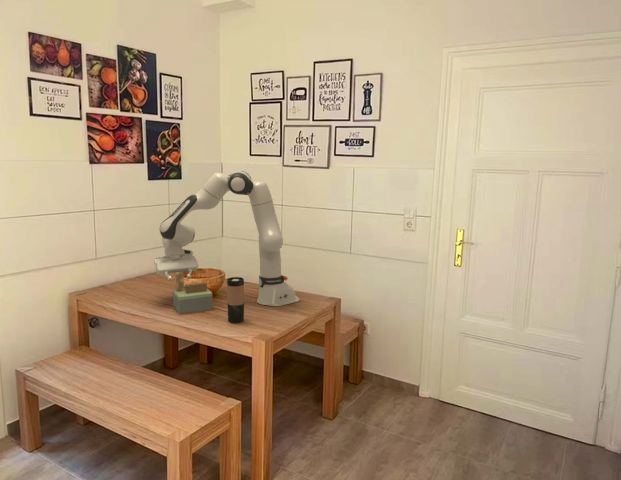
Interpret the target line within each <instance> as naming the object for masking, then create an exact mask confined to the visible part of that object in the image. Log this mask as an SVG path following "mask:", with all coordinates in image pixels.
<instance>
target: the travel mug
mask: <svg viewBox="0 0 621 480" xmlns="http://www.w3.org/2000/svg"><path fill="white" fill-rule="evenodd" d="M244 282H245V279H244V278H243V277H239V276H233V277H229V278H227V279H226V285H227V287H226V288H227V291H226V292H227V296H226V297H227V299H226V301H227V304H226V305H227V319H228V320H227V321H228V322H229V323H230V324H241V323H243V322H244V320H245V285H244V284H245V283H244Z"/></svg>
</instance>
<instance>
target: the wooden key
mask: <svg viewBox="0 0 621 480" xmlns="http://www.w3.org/2000/svg"><path fill="white" fill-rule="evenodd" d="M184 276H185V275H184V272H176V273H175V283H176V288H175V289H176V291H177V292H181V291H184V288H185V282H184V281H185V279H184V278H185V277H184Z"/></svg>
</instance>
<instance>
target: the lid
mask: <svg viewBox="0 0 621 480" xmlns="http://www.w3.org/2000/svg"><path fill="white" fill-rule="evenodd" d="M173 293H174V295H175V296H176V297H177V298H178V299H179V300H186V299H193V298H201V297H209V296H212V297H213V292H212V291H211V290H210V289H208V284H207V282H196V283H187V284H186V283H184V291H181V292H177V291H176V288H174V289H172V294H173Z"/></svg>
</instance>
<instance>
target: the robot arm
mask: <svg viewBox="0 0 621 480" xmlns="http://www.w3.org/2000/svg"><path fill="white" fill-rule="evenodd" d="M270 191H271V190H270V188H269V186H268V184H267V182H265V181H264V180H255V181H254V180H253V179H252V177H251V176H250V174H249V173H248V172H246V171H244V170H237V171H235V172H233V173H231V174H229V175H226V174H225V173H223V172H215V173H213V174H212V175H211V176H210V177H209V178H208V180H207V181H206V182H205V183H204V184H203V185H202V187H201V188H200V190H198V191H197V192H195V193H194V194H191V195H189V196H188V197H186V198H185V199H184V201H183V202H182V203H181V204H180V205H178V207H177V208H176V209H175V210H173V212H172V213H171V214H170V215H169V216H168V217H167V218H165V219H164V220H163V221H162V222H161V224H160V226H159V234H160V235H161V239H162V240H161V241H162V246H163V248H164V255H165V256H157V257H156V258H154V259H153V264H154V265H155V270H156V271H155V272H156V274H158V275H164V277H166V279H167V281H172V275H169V274H176V272H183V273H186V272H187V274H186V279H191V278H192V275H191V274H192V272H196V271H197V270H198V268H199V265H198V261H197V258H196V257H195V256H194V252H193V251H192V250H189V249H184V248H183V247H186V246H188V245H189V244H191V243H192V242H193V241H194V239H195V235H196V234H195V233H196V231H195V229H194V227H192V226H190V225H188V224H185V223H182V222H183V220H184V219H185V218H186V217H187V216H188V214H189V213H191V212H192V211H197V210H211V209H214V208H216V207H217V206H218V205H219V203H220V202H221V200H223V197H224V196H225V195H226V194H227V193H229V192H231V193H233V194H235V195H239V196H240V195H243V196H248V198H249V202H250V206H251V210H252V214H253V219H254V222H255V225H256V229H257V233H258V253H259V275H258V286H259V287H258V288H259V289H258V295H257V296H258V297H257V299H256V303H258V304H260V305H263V306H272V307H280V306H281V307H282V306H286V305H289V304H290V305H291V304H295V303H299V302H300V297H298V296H297V295H296V292H295V289H294V287H293V286H291V285H289V284H288V282H287V281H288V279H289V278H288V276H285V275H283V274H282V257H281V249H282V247H283V245H284V244H283V243H284V238H283V235H282V232H281V231H282V230H281V227H280V224H279V221H278V218H277V217H278V216H277V215H276V210H275V207H274V201H273V198H272V195H271V194H272V193H271V192H270ZM285 281H286V282H285Z"/></svg>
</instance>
